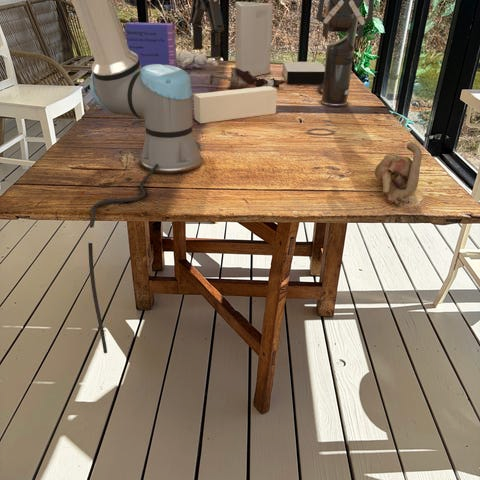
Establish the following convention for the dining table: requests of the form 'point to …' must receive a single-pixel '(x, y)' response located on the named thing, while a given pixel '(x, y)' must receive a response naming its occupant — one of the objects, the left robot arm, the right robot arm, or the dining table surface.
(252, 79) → the figurine
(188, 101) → the left robot arm
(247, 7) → the white tapered box
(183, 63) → the toy
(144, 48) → the cereal box
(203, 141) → the dining table surface
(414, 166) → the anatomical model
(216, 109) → the bar
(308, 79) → the disc drive
